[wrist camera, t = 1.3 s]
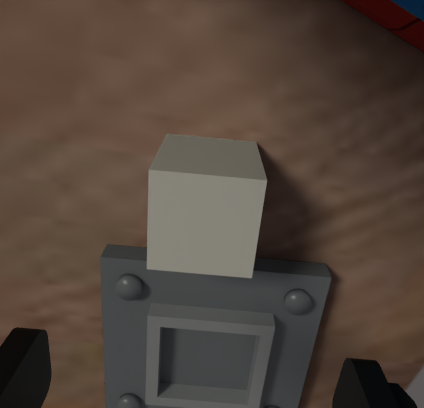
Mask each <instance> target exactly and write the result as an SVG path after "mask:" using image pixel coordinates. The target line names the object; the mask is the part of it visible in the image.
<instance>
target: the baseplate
mask: <svg viewBox="0 0 424 408" xmlns="http://www.w3.org/2000/svg"><path fill="white" fill-rule="evenodd" d="M100 258H101V286H102V314H103V342H104V370H105V398H106V408H298V405H299V401H300V397H301V393H302V390H303V386H304V382H305V378H306V374H307V370H308V367H309V363H310V359H311V355H312V351H313V348H314V344H315V340H316V336H317V332H318V328H319V325H320V321H321V317H322V313H323V309H324V305H325V302H326V298H327V294H328V290H329V286H330V283H331V279H332V277H331V275H330V272H329V270H328V268H327V265H326V264H322V263H311V262H299V261H288V260H277V259H266V258H255V261H254V268H253V274H252V278H242V277H230V276H219V275H207V274H196V273H185V272H173V271H162V270H150V269H147V248H143V247H132V246H120V245H109V244H107V246H106V247H105V249H104V251H103V253H102V255H101V257H100Z"/></svg>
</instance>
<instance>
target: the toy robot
mask: <svg viewBox="0 0 424 408" xmlns="http://www.w3.org/2000/svg"><path fill="white" fill-rule="evenodd" d="M342 1H343V2H345V3H346V4H348V5H349V6H351V7H353V8H354V9H356V10H357V11H359V12H361V13H362V14H364V15H365V16H367V17H368V18H370V19H372V20H373V21H375V22H376V23H378V24H380V25H381V26H383V27H384V28H388V30H389V31H391V32H392V33H394V34H395V35H397V36H399V37H400V38H402V39H403V40H405V41H406V42H408V43H410V44H411V45H413V46H414V47H416V48H418V49H419V50H421V51H422V52H424V0H342Z"/></svg>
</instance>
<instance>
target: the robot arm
mask: <svg viewBox="0 0 424 408" xmlns="http://www.w3.org/2000/svg"><path fill="white" fill-rule="evenodd" d="M50 382H51V362H50V353H49V344H48V335H47V332H46V331H45V330H40V329H29V328H18V327H17V328H14V329H13V330H12V331H11V332H10V334H9V335H8V337H7V338H6V339H5V341H4V342H3V344H2V345H1V346H0V408H41V406H42V404H43V402H44V400H45V398H46V396H47V393H48V390H49V386H50ZM332 408H417V406H416V404H415V402H414V401H413V400H412V399H411V397H410V396H409V395H408V394H407V393H406V392H405V391H404V390H403V389H402V388H401V387H400V386H399V385H398V384H396V383H388V382H387V380H386V378H385V375H384V373H383V371H382V369H381V367H380V365H379V363H378V362H377V361H375V360H364V359H353V358H347V359H345V361H344V363H343V367H342V370H341V373H340V377H339V380H338V383H337V387H336V390H335V393H334V397H333V403H332Z"/></svg>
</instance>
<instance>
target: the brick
mask: <svg viewBox="0 0 424 408" xmlns="http://www.w3.org/2000/svg"><path fill="white" fill-rule="evenodd" d="M266 185H267V178H266V174H265V171H264V167H263V164H262V160H261V157H260V154H259V150H258V147H257V143H256V142H252V141H241V140H230V139H219V138H209V137H198V136H187V135H176V134H167V135H166V137H165V139H164V141H163V143H162V145H161V146H160V148H159V150H158V152H157V154H156V156H155V158H154V160H153V162H152V164H151V166H150V168H149V184H148V230H147V269H150V270H162V271H173V272H185V273H196V274H207V275H219V276H230V277H242V278H252V274H253V268H254V261H255V255H256V249H257V242H258V236H259V229H260V223H261V217H262V210H263V204H264V198H265V191H266Z"/></svg>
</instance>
